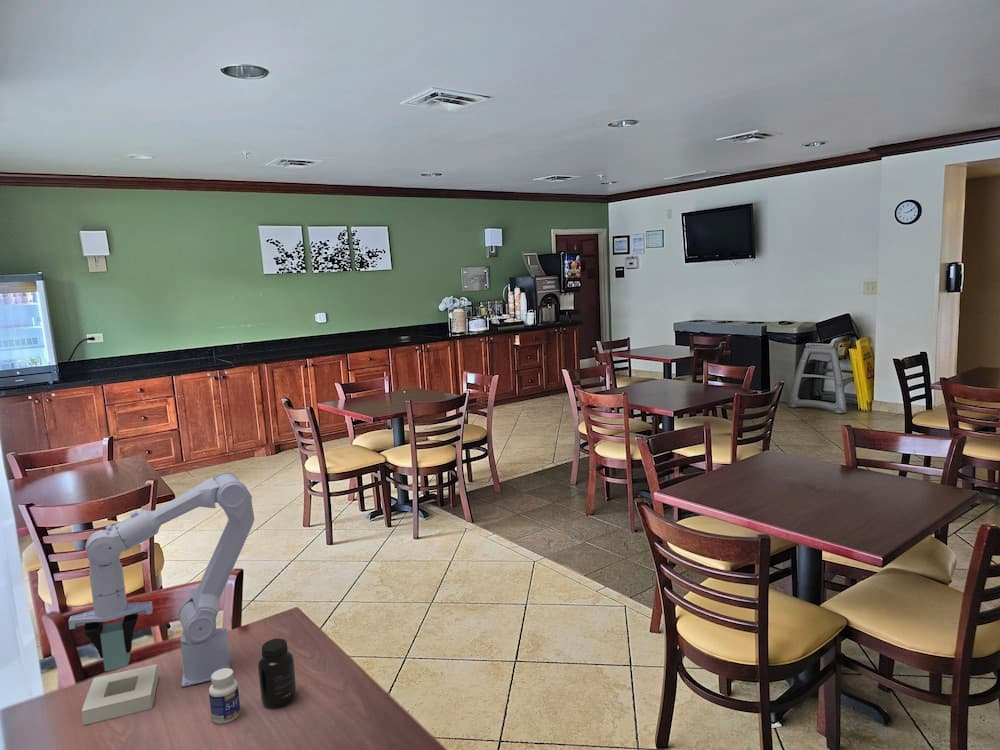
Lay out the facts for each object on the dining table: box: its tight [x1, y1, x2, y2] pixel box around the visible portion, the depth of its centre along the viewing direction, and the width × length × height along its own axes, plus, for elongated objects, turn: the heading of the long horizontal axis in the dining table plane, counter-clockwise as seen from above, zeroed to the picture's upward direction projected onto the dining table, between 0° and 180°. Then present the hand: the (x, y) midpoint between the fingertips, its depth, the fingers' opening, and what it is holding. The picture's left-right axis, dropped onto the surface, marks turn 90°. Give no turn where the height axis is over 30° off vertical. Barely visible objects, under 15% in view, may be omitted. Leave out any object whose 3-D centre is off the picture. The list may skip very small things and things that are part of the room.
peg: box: [100, 620, 131, 672], centre depth 134 cm, size 4×4×8 cm
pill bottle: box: [208, 667, 241, 725], centre depth 129 cm, size 5×5×9 cm
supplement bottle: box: [257, 637, 297, 710], centre depth 133 cm, size 7×7×12 cm
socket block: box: [80, 663, 160, 726], centre depth 136 cm, size 12×12×3 cm
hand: (116, 652), depth 134 cm, fingers closed on peg, 4 cm apart
